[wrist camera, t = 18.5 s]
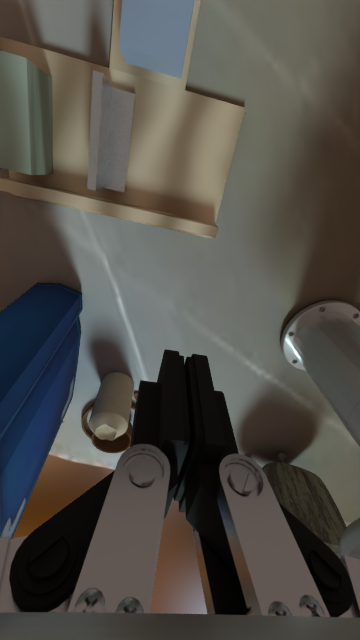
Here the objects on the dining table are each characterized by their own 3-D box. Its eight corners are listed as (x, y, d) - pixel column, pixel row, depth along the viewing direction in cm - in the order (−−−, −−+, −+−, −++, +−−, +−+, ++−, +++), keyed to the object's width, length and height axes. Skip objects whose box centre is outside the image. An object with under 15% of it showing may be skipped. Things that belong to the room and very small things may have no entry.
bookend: (135, 95, 27) (129, 80, 23) (125, 192, 31) (118, 195, 27) (105, 86, 27) (92, 70, 22) (98, 186, 31) (87, 188, 26)
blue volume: (35, 270, 36) (-171, 424, 14) (89, 283, 37) (-24, 443, 15) (31, 388, 46) (-93, 586, 24) (74, 395, 47) (-8, 591, 25)
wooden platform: (281, -30, 24) (314, -88, 18) (210, 237, 35) (218, 249, 29) (-11, -139, 20) (-73, -247, 15) (13, 194, 31) (-19, 198, 26)
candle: (124, 367, 44) (113, 415, 36) (139, 389, 47) (133, 440, 38) (95, 378, 45) (78, 427, 37) (112, 399, 48) (99, 451, 39)
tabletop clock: (235, 461, 58) (275, 637, 36) (260, 436, 54) (322, 615, 32) (287, 478, 62) (352, 647, 40) (314, 455, 58) (402, 628, 36)
